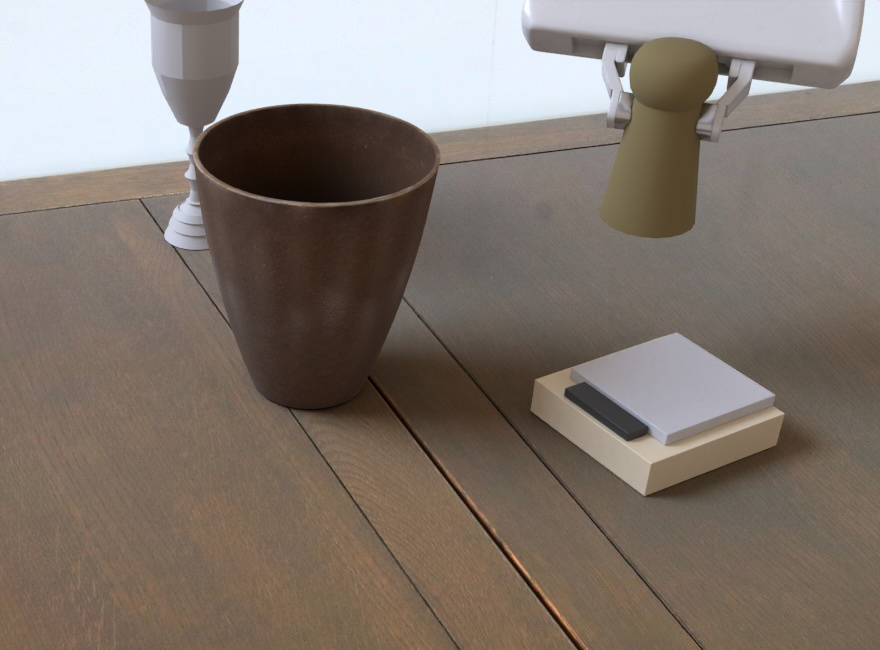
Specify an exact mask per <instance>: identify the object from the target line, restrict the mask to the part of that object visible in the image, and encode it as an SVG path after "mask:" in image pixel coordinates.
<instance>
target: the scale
mask: <svg viewBox="0 0 880 650" xmlns="http://www.w3.org/2000/svg"><path fill="white" fill-rule="evenodd" d="M533 384H534V386H533V390H532V396H531V397H532V398H531V402H530V412H532V413H533V415H535V416H536V417H538V418H539V419H540V420H542V421H543V422H544V423H546V424H547V425H549V426H550V427H551V428H552V429H554V430H555V431H557V432H558V433H559V434H560V435H562V436H563V437H564V438H566V439H567V440H568V441H570V442H571V443H572V444H574V445H575V446H576V447H578V448H579V449H580V450H582V451H583V452H585V453H586V454H587V455H588V456H590V457H591V458H592V459H594V460H595V461H597V463H599V464H601V465H602V466H603V467H605V468H606V469H607V470H609V471H610V472H611V473H613V474H614V476H616V477H618V478H619V479H620V480H622V481H623V482H625V483H626V484H627V485H628V486H630V487H631V488H632V489H634V490H635V491H636V492H637V493H639V494H641V495H642V496H643V497H647V496H649V495H651V494H654V493H657V492H660V491H662V490H664V489H668V488H670V487H672V486H674V485H678V484H680V483H682V482H685V481H687V480H690V479H692V478H695V477H698V476H701V475H703V474H706V473H708V472H711V471H713V470H716V469H719V468H721V467H724V466H727V465H729V464H731V463H735V462H736V461H739V460H742V459H744V458H747V457H749V456H753V455H755V454H757V453H760V452H763V451H765V450H768V449H770V448H773V447H775V446H777V444H778V440H779V437H780V432H781V429H782V426H783V422H784V418H785V415H786V414H785V412H783V411H782V410H780V409H778V408H777V407H775V406H774V404H775V401H776V396H777V395H776V394H775V393H773V392H772V391H770V390H769V389H767V388H765V387H764V386H762V384H761V385H760V384H759V383H757V382H756V381H755V380H753V379H751V378H750V377H748V376H747V375H745V374H743V373H742V372H740V371H738V370H737V369H735V368H734V367H733V366H731V365H729V364H728V363H726V362H724V361H723V360H721V359H720V358H718V357H717V356H715V355H713V354H712V353H711V352H709V351H707V350H706V349H704V348H703V347H701V346H700V345H698V344H697V343H695V342H693V341H691V340H690V339H688V338H687V337H686V336H684V335H682V334H681V333H679V332H678V331H677V332H673V333H670V334H667V335H664V336H663V335H662V336H660V337H657V338H654V339H651V340H648V341H645V342H642V343H639V344H637V345H633V346H630V347H627V348H624V349H621V350H617V351H615V352H612V353H609V354H607V355H604V356H603V355H602V356H601V357H598V358H595V359H592V360H588V361H585V362H583V363H580V364H577V365H574V366H571V367H568V368H564V369H561V370H559V371H556V372H553V373H550V374H547V375H544V376H541V377H538V378H535V379H534V383H533Z"/></svg>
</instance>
